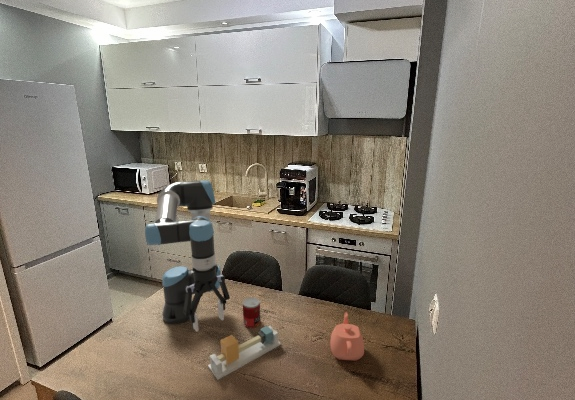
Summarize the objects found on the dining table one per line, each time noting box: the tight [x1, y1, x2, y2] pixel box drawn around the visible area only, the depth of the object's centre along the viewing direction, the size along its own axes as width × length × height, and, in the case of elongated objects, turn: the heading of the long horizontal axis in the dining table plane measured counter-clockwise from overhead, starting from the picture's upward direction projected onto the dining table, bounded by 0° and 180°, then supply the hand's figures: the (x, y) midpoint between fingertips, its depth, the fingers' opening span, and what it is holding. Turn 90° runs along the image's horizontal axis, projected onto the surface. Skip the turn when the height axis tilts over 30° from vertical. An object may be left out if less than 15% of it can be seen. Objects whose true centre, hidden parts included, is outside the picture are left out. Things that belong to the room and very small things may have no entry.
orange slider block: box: [219, 334, 239, 365], centre depth 120 cm, size 5×5×8 cm
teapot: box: [329, 311, 365, 362], centre depth 126 cm, size 13×20×12 cm, turn 175°
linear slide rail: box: [207, 325, 282, 380], centre depth 125 cm, size 8×29×7 cm, turn 129°
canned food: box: [242, 297, 261, 329], centre depth 144 cm, size 8×8×11 cm
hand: (208, 323), depth 111 cm, fingers open, 9 cm apart
